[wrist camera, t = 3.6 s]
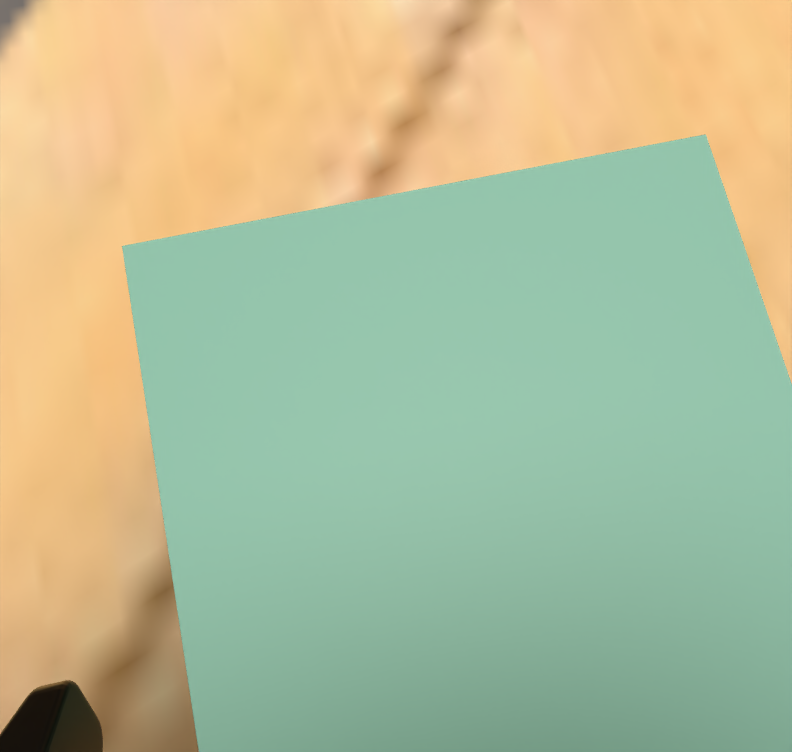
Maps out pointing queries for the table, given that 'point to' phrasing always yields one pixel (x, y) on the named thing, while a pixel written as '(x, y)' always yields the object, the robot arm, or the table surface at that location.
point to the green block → (477, 467)
